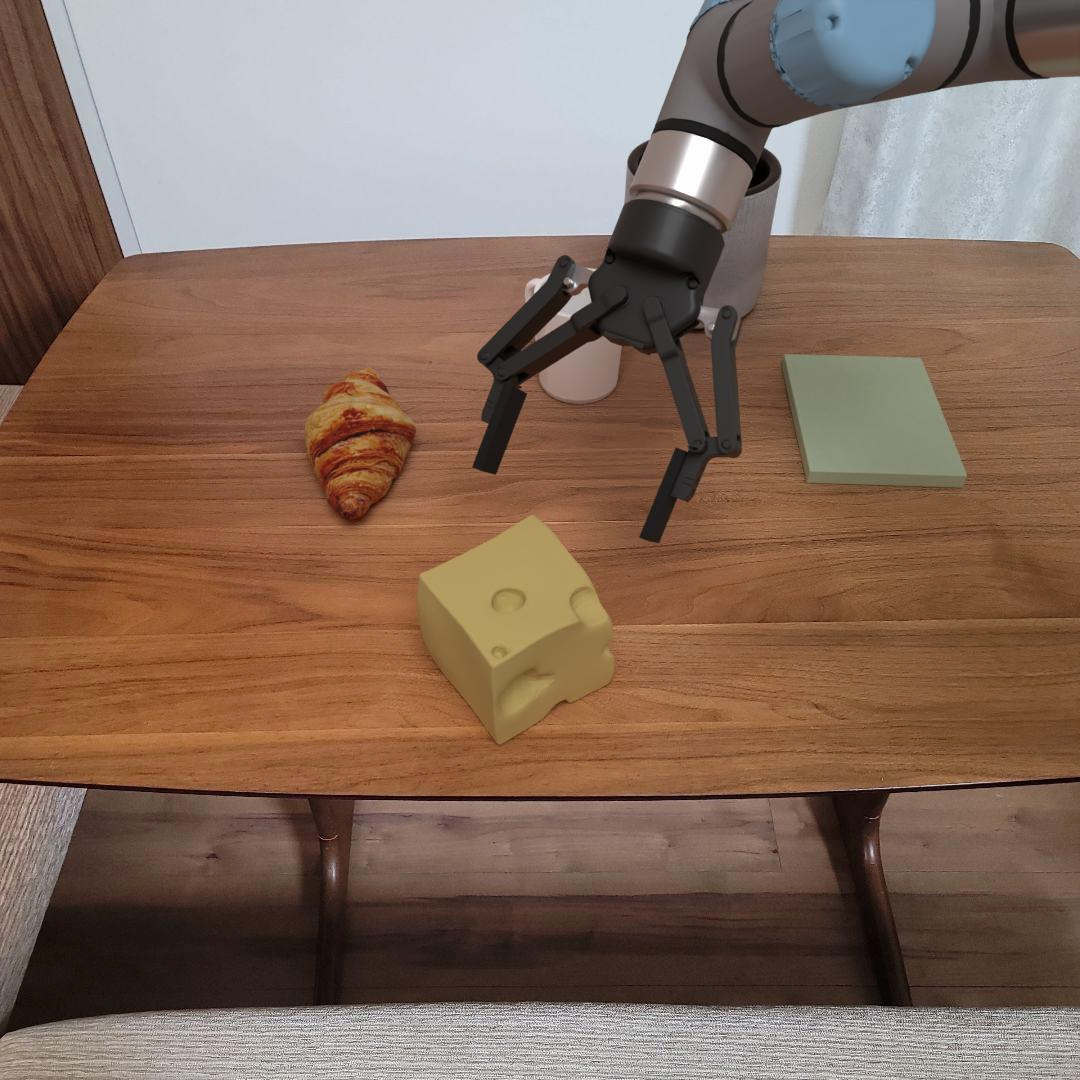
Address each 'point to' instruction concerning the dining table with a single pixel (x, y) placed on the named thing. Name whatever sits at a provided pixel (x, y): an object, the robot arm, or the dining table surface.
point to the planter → (738, 237)
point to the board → (870, 422)
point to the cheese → (516, 627)
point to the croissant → (357, 442)
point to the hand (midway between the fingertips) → (563, 505)
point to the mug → (578, 358)
